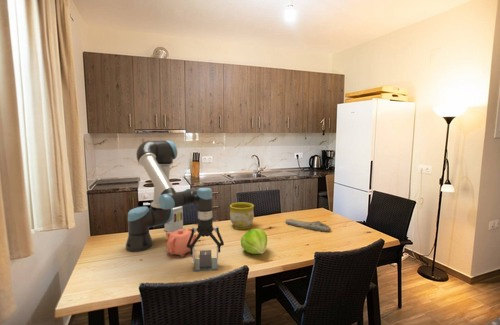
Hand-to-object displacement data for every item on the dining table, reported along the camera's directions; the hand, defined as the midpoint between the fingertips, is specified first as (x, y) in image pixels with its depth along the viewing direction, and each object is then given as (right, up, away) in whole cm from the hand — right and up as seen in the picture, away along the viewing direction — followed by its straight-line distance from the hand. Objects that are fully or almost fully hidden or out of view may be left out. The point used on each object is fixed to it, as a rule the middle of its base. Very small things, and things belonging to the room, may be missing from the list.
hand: (205, 259), depth 140 cm
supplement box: (-31, +2, +53) cm, 62 cm away
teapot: (-16, -2, +16) cm, 22 cm away
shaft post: (0, -3, 0) cm, 3 cm away
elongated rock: (+65, +2, +60) cm, 89 cm away
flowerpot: (+17, +2, +60) cm, 63 cm away
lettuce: (+26, -2, +15) cm, 30 cm away
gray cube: (0, -2, 0) cm, 2 cm away
